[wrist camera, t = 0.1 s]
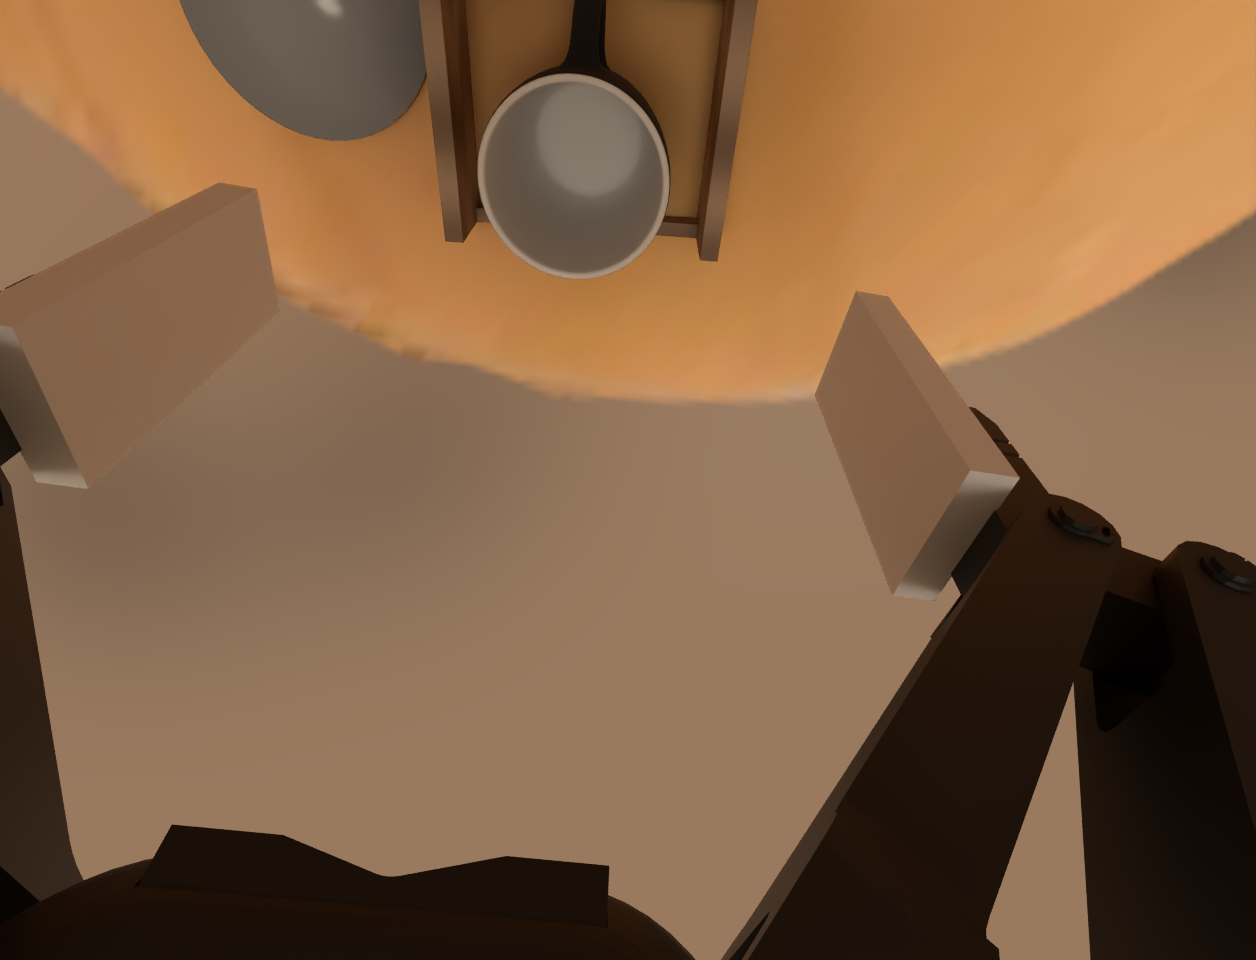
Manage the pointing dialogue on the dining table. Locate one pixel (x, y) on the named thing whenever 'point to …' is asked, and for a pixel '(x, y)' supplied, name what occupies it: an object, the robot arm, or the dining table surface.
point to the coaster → (317, 59)
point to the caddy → (457, 131)
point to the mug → (575, 163)
